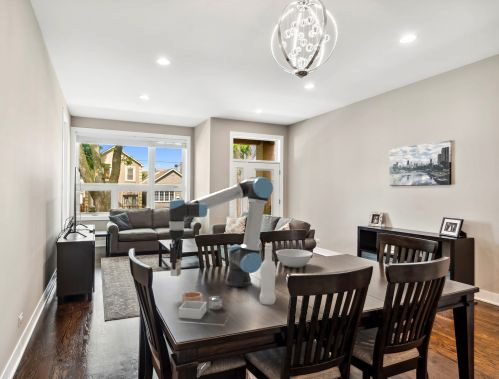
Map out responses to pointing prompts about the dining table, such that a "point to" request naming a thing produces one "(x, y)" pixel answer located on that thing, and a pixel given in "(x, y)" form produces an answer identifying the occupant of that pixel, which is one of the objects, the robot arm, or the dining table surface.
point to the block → (177, 267)
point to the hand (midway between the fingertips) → (176, 274)
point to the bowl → (294, 257)
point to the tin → (215, 302)
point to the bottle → (268, 277)
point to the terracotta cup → (192, 296)
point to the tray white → (192, 309)
